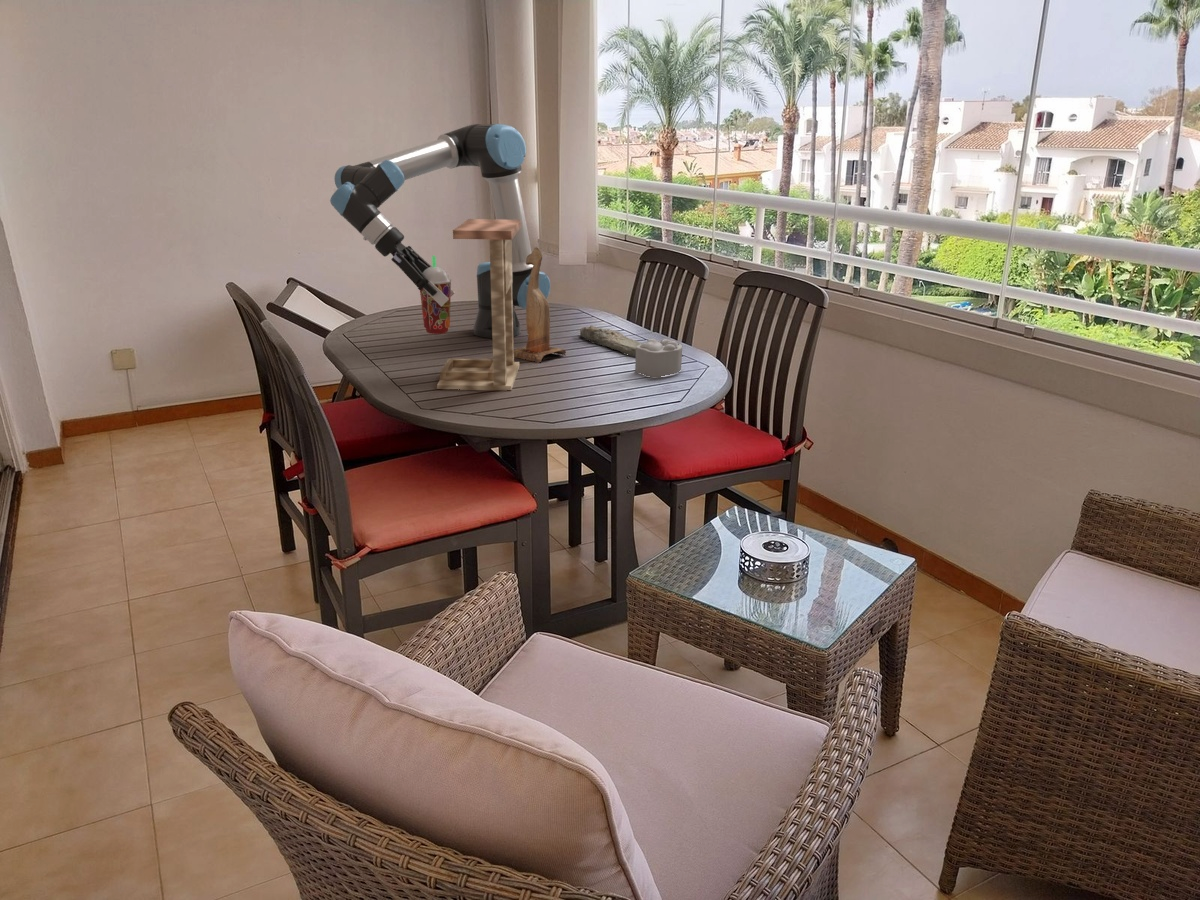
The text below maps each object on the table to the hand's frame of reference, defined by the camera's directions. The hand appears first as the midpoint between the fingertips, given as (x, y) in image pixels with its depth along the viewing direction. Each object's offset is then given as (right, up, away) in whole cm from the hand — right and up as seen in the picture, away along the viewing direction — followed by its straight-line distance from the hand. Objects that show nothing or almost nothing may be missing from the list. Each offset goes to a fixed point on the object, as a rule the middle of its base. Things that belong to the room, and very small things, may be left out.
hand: (448, 299), depth 228 cm
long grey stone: (+45, -8, +40) cm, 61 cm away
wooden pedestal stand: (+8, -20, +5) cm, 22 cm away
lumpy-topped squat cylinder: (+57, -18, +13) cm, 61 cm away
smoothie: (-4, -8, +3) cm, 10 cm away
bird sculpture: (+22, -12, +26) cm, 37 cm away
